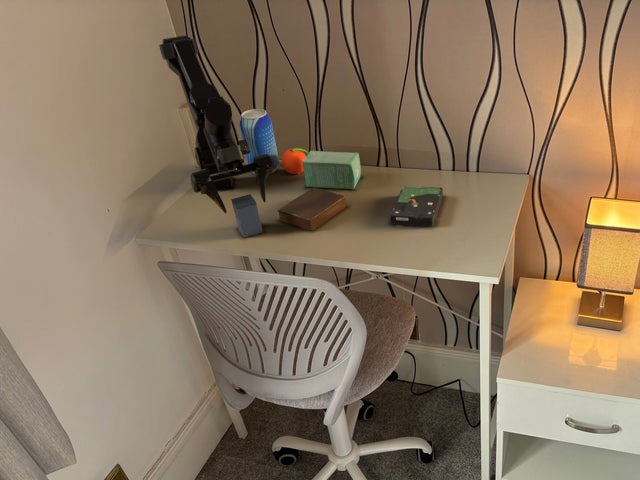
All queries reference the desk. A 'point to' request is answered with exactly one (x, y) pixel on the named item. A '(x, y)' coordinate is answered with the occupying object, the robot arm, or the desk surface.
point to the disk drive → (417, 206)
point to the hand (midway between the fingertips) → (245, 207)
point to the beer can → (259, 135)
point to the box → (331, 169)
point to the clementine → (293, 160)
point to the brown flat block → (312, 208)
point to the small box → (247, 215)
